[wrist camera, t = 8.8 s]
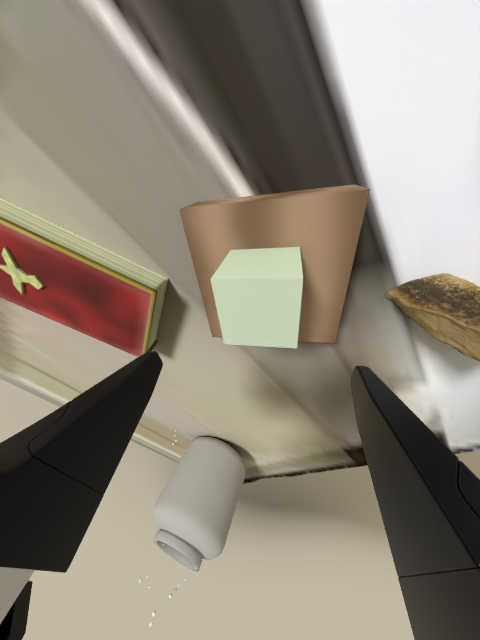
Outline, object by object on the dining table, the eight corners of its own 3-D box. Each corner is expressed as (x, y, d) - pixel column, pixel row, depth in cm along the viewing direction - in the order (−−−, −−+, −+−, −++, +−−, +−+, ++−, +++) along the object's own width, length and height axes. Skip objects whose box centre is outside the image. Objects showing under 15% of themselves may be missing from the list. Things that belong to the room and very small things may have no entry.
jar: (165, 430, 49) (85, 601, 30) (199, 417, 41) (119, 639, 22) (221, 462, 55) (184, 622, 36) (261, 456, 47) (240, 658, 28)
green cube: (299, 246, 14) (303, 278, 10) (295, 306, 17) (297, 348, 13) (231, 249, 15) (210, 279, 11) (238, 305, 18) (224, 343, 14)
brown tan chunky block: (576, 354, 16) (653, 246, 10) (562, 454, 13) (653, 382, 8) (407, 326, 24) (400, 258, 19) (378, 384, 22) (361, 326, 16)
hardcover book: (159, 341, 30) (142, 362, 26) (16, 277, 28) (-21, 292, 24) (174, 275, 22) (154, 294, 19) (-20, 181, 20) (-80, 184, 17)
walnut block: (352, 184, 15) (369, 189, 11) (328, 317, 22) (334, 343, 18) (199, 201, 17) (179, 209, 14) (222, 315, 24) (212, 336, 21)
